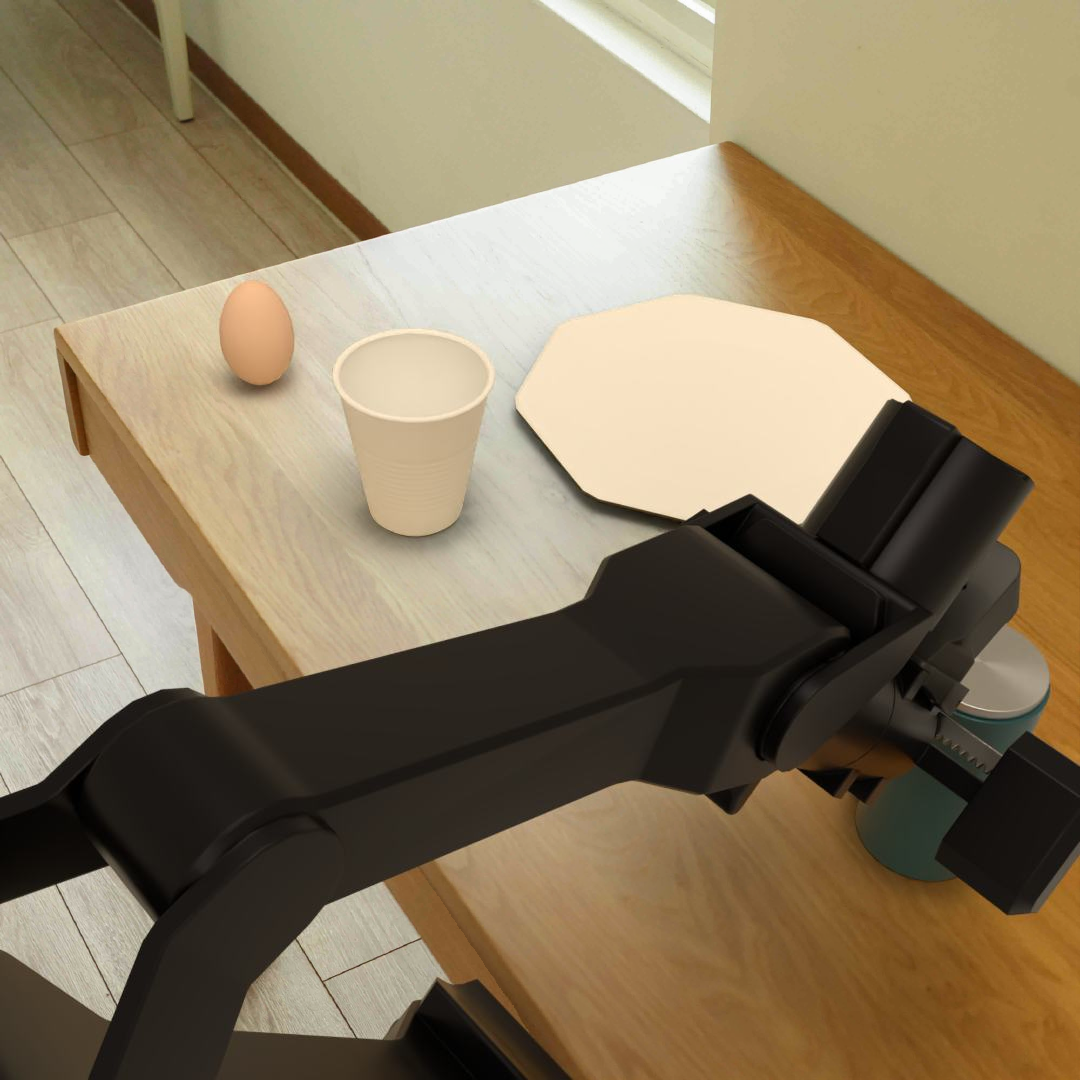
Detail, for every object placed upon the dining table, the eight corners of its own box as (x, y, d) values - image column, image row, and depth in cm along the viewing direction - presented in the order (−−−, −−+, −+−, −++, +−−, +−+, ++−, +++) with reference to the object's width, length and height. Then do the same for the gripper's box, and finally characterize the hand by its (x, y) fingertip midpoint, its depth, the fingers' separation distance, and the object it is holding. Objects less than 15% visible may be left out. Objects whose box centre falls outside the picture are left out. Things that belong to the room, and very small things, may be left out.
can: (982, 893, 69) (1059, 727, 60) (852, 866, 70) (911, 699, 61) (978, 793, 74) (1050, 626, 65) (857, 769, 75) (912, 601, 66)
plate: (983, 477, 95) (989, 460, 94) (648, 588, 85) (650, 571, 84) (763, 287, 113) (766, 271, 112) (463, 359, 103) (464, 343, 102)
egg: (229, 405, 97) (217, 307, 91) (221, 365, 101) (208, 268, 95) (303, 396, 98) (295, 298, 93) (291, 356, 102) (283, 260, 96)
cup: (330, 555, 86) (320, 415, 78) (351, 458, 93) (343, 322, 86) (486, 564, 86) (490, 425, 78) (494, 467, 93) (499, 332, 86)
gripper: (1184, 655, 44) (1214, 711, 57) (750, 393, 54) (861, 493, 67) (984, 928, 45) (1059, 921, 58) (594, 623, 55) (734, 676, 68)
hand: (922, 736), depth 63 cm, fingers open, 9 cm apart
